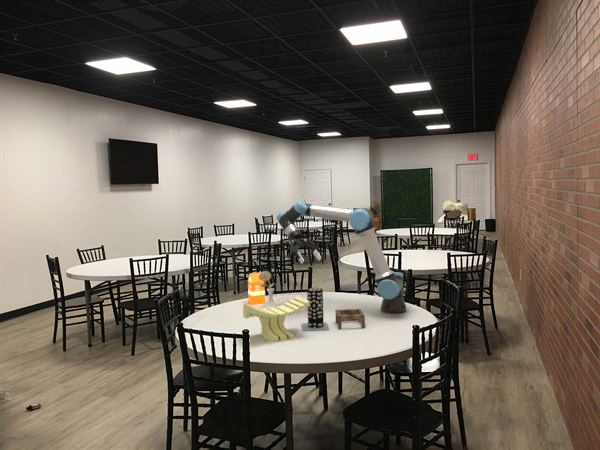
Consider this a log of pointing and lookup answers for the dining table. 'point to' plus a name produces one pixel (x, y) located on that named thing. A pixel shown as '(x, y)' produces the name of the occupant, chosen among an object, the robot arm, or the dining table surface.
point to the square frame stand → (349, 316)
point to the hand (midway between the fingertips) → (311, 260)
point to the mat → (306, 328)
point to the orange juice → (256, 289)
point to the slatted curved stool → (275, 318)
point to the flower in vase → (265, 277)
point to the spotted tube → (315, 307)
